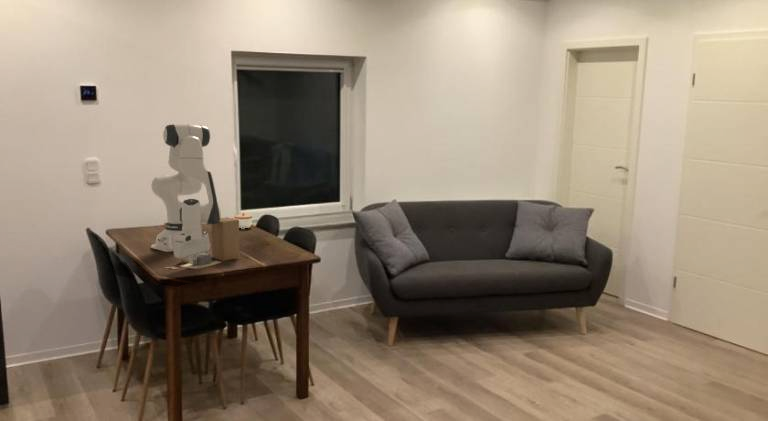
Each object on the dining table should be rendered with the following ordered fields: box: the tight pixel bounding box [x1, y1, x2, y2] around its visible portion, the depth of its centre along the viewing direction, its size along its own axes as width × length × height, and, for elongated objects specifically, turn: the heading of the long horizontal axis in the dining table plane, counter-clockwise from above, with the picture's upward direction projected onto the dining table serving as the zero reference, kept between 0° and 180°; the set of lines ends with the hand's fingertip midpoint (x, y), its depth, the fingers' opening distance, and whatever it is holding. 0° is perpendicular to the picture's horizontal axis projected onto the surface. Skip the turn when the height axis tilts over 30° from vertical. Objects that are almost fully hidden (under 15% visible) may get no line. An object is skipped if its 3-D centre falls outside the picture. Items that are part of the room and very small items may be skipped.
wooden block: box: [210, 216, 241, 261], centre depth 328 cm, size 10×10×20 cm
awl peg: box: [180, 257, 190, 264], centre depth 318 cm, size 4×4×9 cm
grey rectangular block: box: [192, 252, 212, 266], centre depth 316 cm, size 5×7×4 cm
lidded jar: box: [233, 212, 253, 230], centre depth 406 cm, size 11×11×9 cm
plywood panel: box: [179, 259, 222, 270], centre depth 315 cm, size 12×16×1 cm
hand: (193, 263), depth 311 cm, fingers closed
